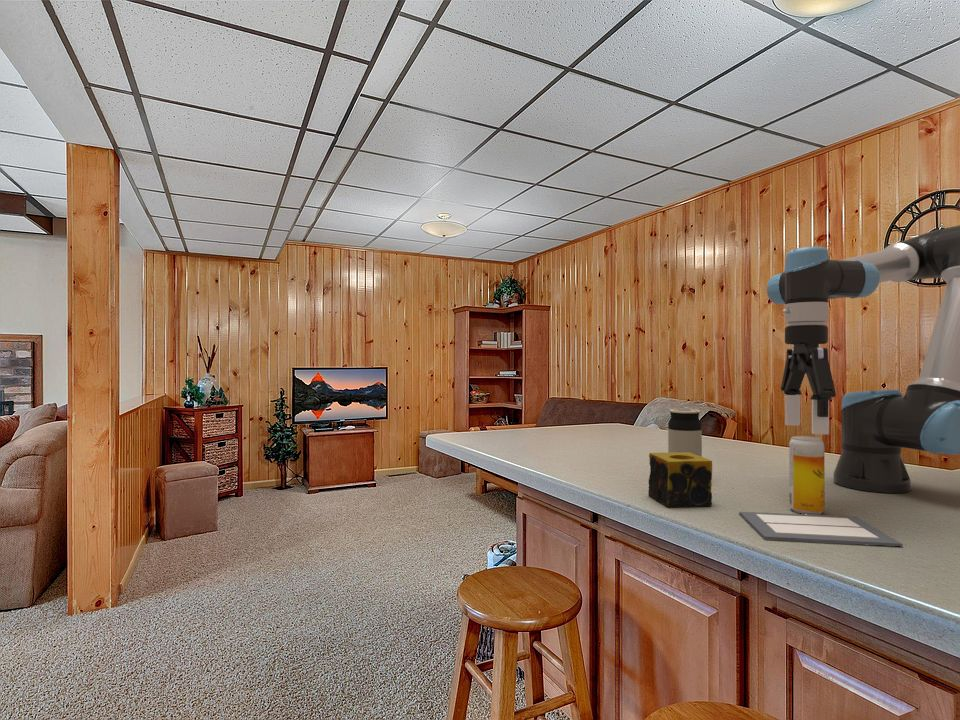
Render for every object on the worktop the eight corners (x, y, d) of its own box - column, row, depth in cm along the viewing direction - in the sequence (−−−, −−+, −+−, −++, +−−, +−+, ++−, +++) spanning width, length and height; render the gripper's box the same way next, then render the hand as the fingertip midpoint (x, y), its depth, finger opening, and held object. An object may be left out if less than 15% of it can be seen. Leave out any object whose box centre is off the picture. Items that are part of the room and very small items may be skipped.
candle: (647, 496, 121) (647, 452, 121) (690, 495, 122) (690, 451, 122) (666, 509, 111) (666, 461, 111) (713, 507, 112) (713, 460, 112)
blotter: (856, 519, 103) (856, 515, 103) (902, 547, 88) (902, 542, 88) (739, 514, 107) (739, 510, 107) (764, 539, 92) (764, 535, 92)
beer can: (830, 516, 105) (829, 440, 105) (796, 515, 106) (795, 439, 106) (817, 508, 111) (816, 436, 111) (785, 506, 112) (784, 435, 112)
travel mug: (667, 482, 134) (667, 410, 134) (669, 475, 142) (668, 408, 142) (701, 484, 131) (701, 411, 131) (701, 478, 139) (701, 408, 139)
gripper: (765, 328, 121) (764, 421, 121) (811, 320, 97) (811, 437, 97) (801, 328, 120) (801, 422, 120) (857, 320, 95) (857, 439, 95)
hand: (805, 429), depth 108 cm, fingers open, 13 cm apart
